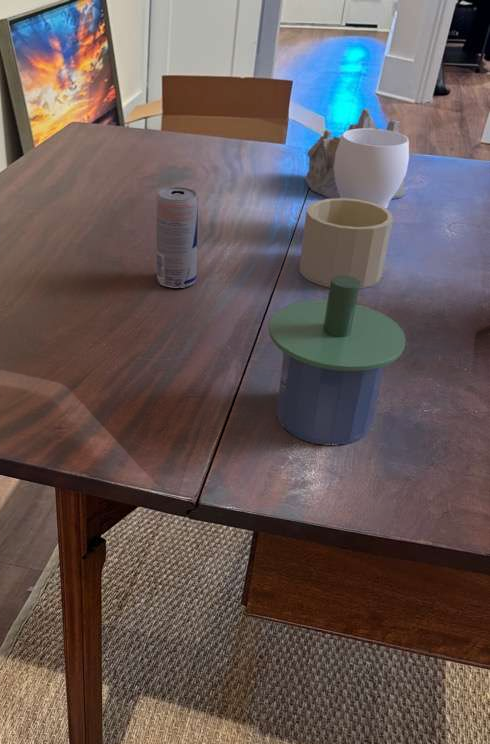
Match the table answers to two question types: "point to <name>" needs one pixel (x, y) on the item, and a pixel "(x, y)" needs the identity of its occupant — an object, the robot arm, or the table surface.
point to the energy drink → (177, 236)
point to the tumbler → (326, 402)
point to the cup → (371, 164)
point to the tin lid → (337, 331)
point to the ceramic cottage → (324, 158)
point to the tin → (345, 241)
